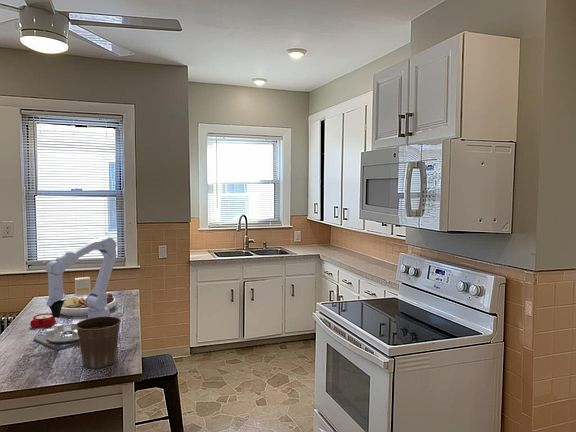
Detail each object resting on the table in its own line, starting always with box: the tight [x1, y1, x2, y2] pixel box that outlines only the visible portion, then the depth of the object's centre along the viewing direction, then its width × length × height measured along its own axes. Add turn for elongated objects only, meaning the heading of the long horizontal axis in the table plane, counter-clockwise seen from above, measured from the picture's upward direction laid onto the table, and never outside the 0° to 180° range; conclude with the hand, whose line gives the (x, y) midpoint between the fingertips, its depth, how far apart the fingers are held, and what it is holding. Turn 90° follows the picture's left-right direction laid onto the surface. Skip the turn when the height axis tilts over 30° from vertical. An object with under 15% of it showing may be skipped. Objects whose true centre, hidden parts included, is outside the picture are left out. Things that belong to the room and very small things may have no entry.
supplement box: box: [74, 276, 92, 297], centre depth 264 cm, size 8×5×13 cm, turn 120°
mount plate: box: [33, 334, 80, 351], centre depth 197 cm, size 20×20×1 cm
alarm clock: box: [29, 312, 57, 329], centre depth 216 cm, size 10×6×15 cm
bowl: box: [60, 292, 116, 317], centre depth 243 cm, size 30×30×8 cm
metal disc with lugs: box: [45, 321, 80, 343], centre depth 196 cm, size 17×17×4 cm
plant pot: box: [76, 316, 122, 370], centre depth 171 cm, size 16×16×16 cm
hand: (56, 317), depth 198 cm, fingers closed
